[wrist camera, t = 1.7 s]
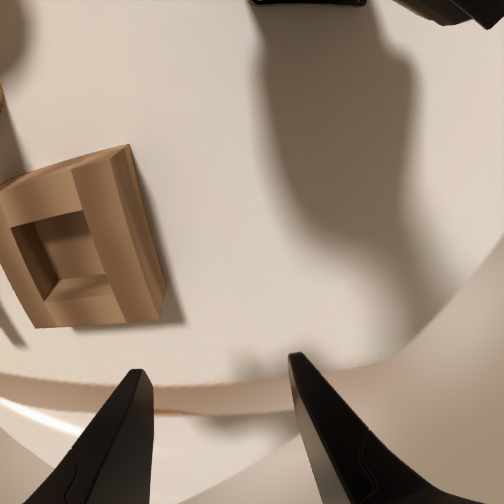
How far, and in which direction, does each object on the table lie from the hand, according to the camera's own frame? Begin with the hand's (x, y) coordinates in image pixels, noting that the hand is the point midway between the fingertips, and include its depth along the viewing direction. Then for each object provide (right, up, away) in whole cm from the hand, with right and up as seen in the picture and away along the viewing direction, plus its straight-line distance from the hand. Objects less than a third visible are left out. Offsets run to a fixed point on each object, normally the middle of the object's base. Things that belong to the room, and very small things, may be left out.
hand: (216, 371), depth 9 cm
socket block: (-10, +5, +10) cm, 15 cm away
